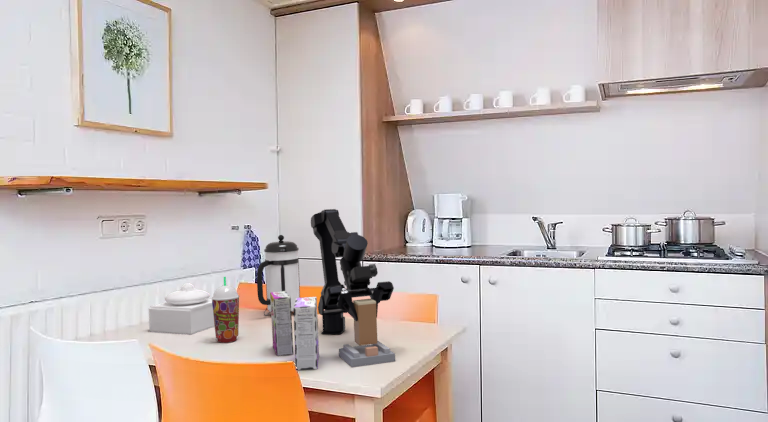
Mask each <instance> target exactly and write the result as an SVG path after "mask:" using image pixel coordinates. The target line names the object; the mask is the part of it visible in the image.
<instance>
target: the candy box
mask: <svg viewBox="0 0 768 422" xmlns="http://www.w3.org/2000/svg"><path fill="white" fill-rule="evenodd" d="M317 299H318V298H317V296H306V297H299V298H296V301H295V305H294V311H293V326H294V327H293V328H294V331H293V333H294V335H293V336H294V358H295V359H294V361H295V364H296V365H295V368H296V367H297V369H298V370H297V371H307V370H308V371H309V370H310V371H311V370H318V368H319V357H320V351H319V350H320V349H319V348H320V347H319V346H320V344H319V324H318V323H319V321H318V320H319V319H318V300H317Z"/></svg>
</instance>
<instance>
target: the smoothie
mask: <svg viewBox="0 0 768 422" xmlns="http://www.w3.org/2000/svg"><path fill="white" fill-rule="evenodd" d="M211 299H212V306H213V315H214V325H215V327H214V332H215V338H216V339H217V342H218V343H225V344H227V343H233V342H235V341H236V340H237V339H238V337H239V326H240V325H239V321H240V320H239V319H240V317H239V315H240V314H239V311H240V295H239V293H238V292H237V290H236V289H235V288H234V287H233V286H231V285H227V278H226V276H223V285H222V286H219V287H218V288H216V290H214V293H213V295H212V296H211Z"/></svg>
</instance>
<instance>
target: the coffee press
mask: <svg viewBox="0 0 768 422" xmlns="http://www.w3.org/2000/svg"><path fill="white" fill-rule="evenodd" d="M277 239H278V241H272V242H270V243H268V244H267V245H266V246H265V248H264V249H263V250H264V251H263V252H264V254H265V259H264V261H262V262H261V263H260V264H259V265H258V267H257V270H256V287H257V288H256V289H257V290H256V291H257V299H258V301H259V303H260V304H261V305H264V306H267V307H266V309H265V310H264V311H263V315H264V316H268V315H269V314H271V301H270V293H271V292H279V291H280V292H281V291H286V292H287V293H288V295H289V296H290V297H291V313H292V312H293V313H294V305H295V301H296V298H300V296H301V289H300V288H301V287H300V272H299V270H300V262H299V260H300V259H299V258H300V257H299V255H298V253H299V247H298V245H297V244H296V243H295V242H294V241H290V240H289V241H285V240H284V239H285V236H284V235H283V234H279V235H278V236H277ZM264 269H265V282H266V285H265V291H266V295H265V296H266V299H265V298H264V288H263V287H264V286H263V273H264ZM267 310H268V311H269V312H267V314H265V313H266V311H267Z"/></svg>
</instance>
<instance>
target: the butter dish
mask: <svg viewBox="0 0 768 422" xmlns="http://www.w3.org/2000/svg"><path fill="white" fill-rule="evenodd" d="M210 296H211V295H210V293H209V292H208V291H206V290H203V289H199V288H196V287H195V285H194V284H192V283H190V282H185V283H183V284H182V285H181V287H180V290H176V291H171V292H170V293H167V294H166V295H165V296H164V301H165V302H162V303H158V304H154V305H150V308H148V323H149V325H148V326H149V332H150V333H161V334H172V335H184V336H185V335H188V336H191V335H195V334H198V333H200V332H203V331H206V330H209V329H212V328H215V325H214V315H213V306H212V297H211V298H210Z"/></svg>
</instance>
